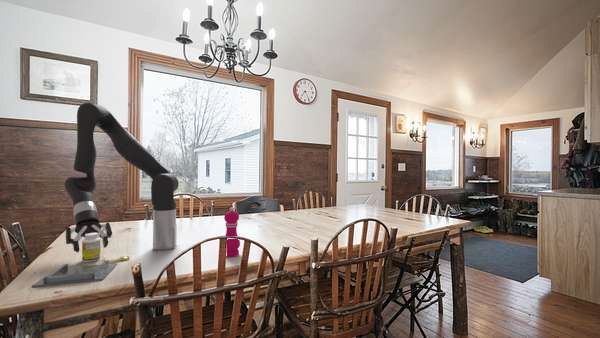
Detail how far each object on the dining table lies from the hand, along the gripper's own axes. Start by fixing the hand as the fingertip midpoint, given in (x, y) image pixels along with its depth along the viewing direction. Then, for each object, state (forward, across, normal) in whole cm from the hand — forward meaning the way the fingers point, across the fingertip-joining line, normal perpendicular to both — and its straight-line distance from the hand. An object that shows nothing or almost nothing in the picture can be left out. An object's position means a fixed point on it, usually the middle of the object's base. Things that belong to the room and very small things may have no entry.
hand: (92, 248), depth 102 cm
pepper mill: (+26, +41, -19) cm, 52 cm away
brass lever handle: (+8, +7, -2) cm, 11 cm away
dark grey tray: (+12, -6, -6) cm, 15 cm away
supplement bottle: (+3, 0, +4) cm, 5 cm away
